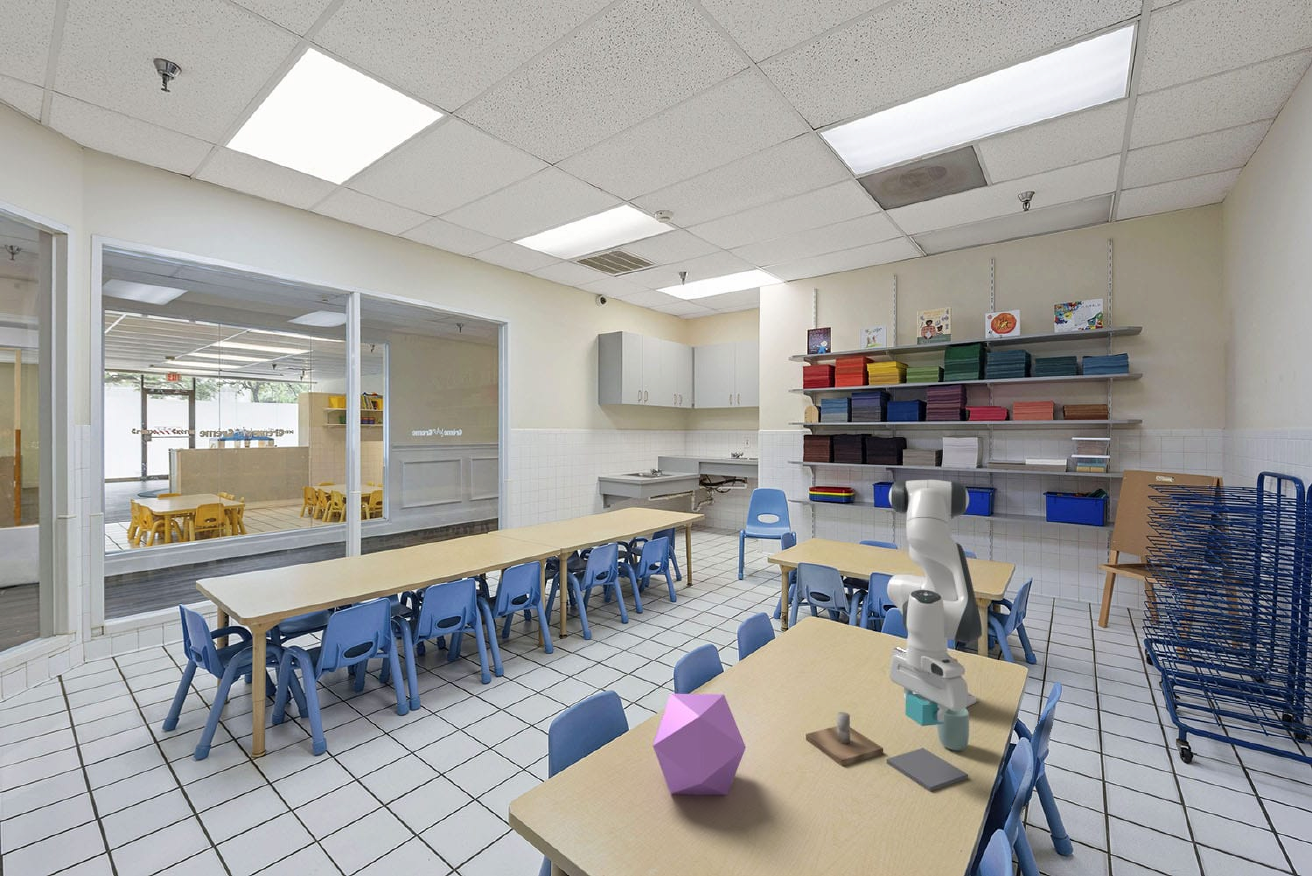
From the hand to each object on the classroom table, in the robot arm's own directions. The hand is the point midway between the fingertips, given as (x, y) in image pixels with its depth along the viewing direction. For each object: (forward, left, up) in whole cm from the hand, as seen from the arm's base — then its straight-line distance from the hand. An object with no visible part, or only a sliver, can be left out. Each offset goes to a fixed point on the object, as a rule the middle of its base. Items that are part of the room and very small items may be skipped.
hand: (925, 713), depth 139 cm
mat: (0, 0, -14) cm, 14 cm away
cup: (-16, -5, -14) cm, 22 cm away
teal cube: (0, 0, -1) cm, 1 cm away
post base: (+11, -17, -14) cm, 25 cm away
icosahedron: (+55, -18, -15) cm, 59 cm away
